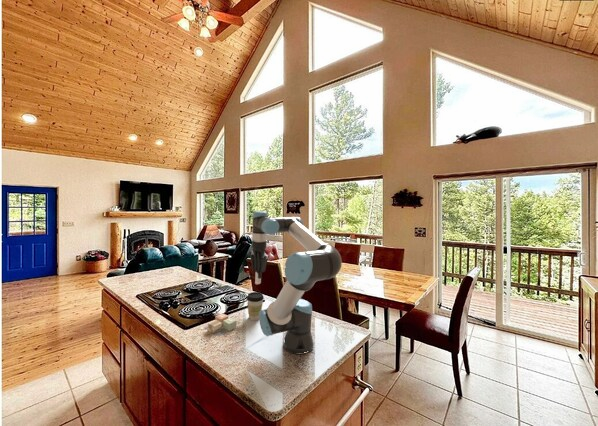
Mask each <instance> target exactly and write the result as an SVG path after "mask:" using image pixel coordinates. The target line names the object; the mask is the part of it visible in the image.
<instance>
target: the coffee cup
mask: <svg viewBox="0 0 598 426" xmlns="http://www.w3.org/2000/svg"><path fill="white" fill-rule="evenodd" d="M264 299H265V297H264V295H263V293H261V292H260V291H253V292H250V293H248V294H247V296H246V300H247V301H246V302H247V304H246V305H247V312H248V319H249V320H250V321H258V320H259V312H260V311H261V310H263V309H262V308H263V304H264V303H263V301H264Z"/></svg>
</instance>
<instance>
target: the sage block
mask: <svg viewBox="0 0 598 426" xmlns="http://www.w3.org/2000/svg"><path fill="white" fill-rule="evenodd" d="M237 321H238V320H237V319H234V318H232V317H231V316H230V317H228V319H226V320H224V321H223V328H225V329H227V330H228V332H229V331H230V332H231V331H232V330H234V329H236V328H237Z"/></svg>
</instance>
